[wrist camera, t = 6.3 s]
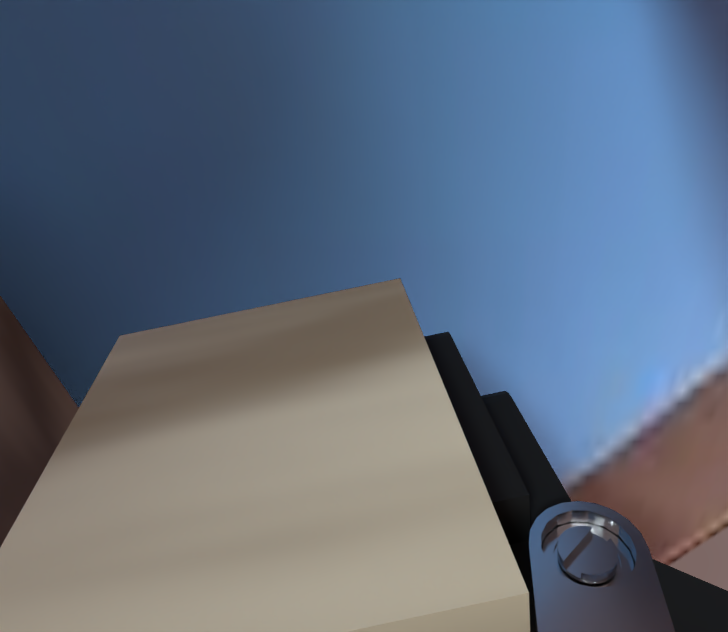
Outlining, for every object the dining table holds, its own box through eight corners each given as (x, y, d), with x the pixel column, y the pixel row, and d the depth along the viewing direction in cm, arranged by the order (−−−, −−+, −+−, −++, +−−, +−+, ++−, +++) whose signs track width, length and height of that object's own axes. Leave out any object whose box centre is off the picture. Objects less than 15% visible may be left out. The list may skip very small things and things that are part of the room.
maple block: (119, 336, 9) (-102, 728, 4) (400, 278, 10) (528, 591, 4) (208, 527, 12) (138, 926, 7) (431, 480, 12) (536, 837, 7)
